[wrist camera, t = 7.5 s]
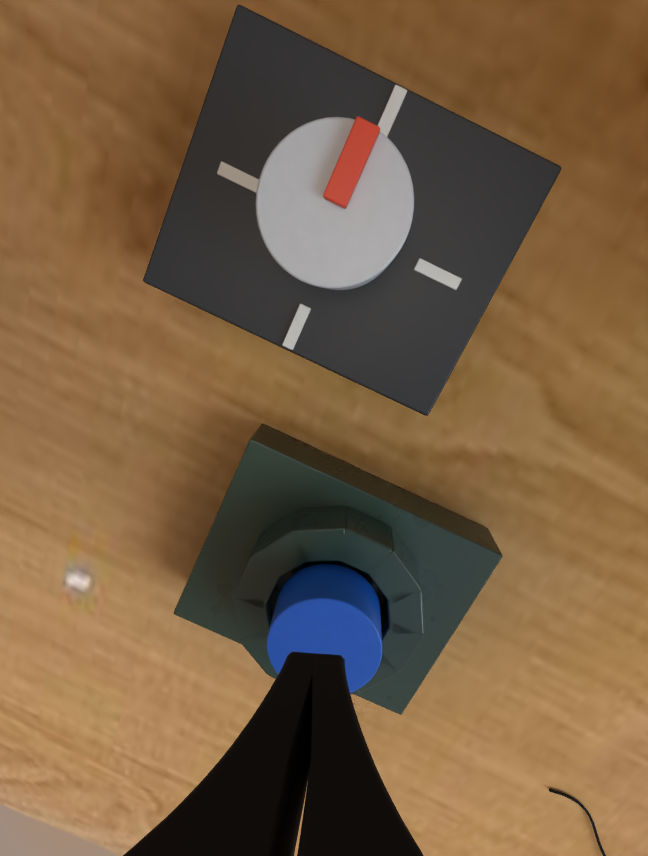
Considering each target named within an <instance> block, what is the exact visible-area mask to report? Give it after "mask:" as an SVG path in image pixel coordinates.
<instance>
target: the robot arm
mask: <svg viewBox="0 0 648 856" xmlns="http://www.w3.org/2000/svg"><path fill="white" fill-rule="evenodd" d="M307 782H308V785H307ZM306 788H307V792H306ZM305 793H306V799H305V807H304V814H303V821H302V828H301V835H300V842H299V848H298V855H297V856H423V854H422V852H421V851H420V849H419V847H418V846H417V844H416V842H415V841H414V839H413V837H412V836H411V834H410V832H409V831H408V829H407V827H406V826H405V824H404V822H403V820H402V819H401V817H400V815H399V813H398V811H397V809H396V807H395V805H394V803H393V802H392V800H391V798H390V796H389V794H388V792H387V790H386V788H385V786H384V783H383V781H382V779H381V777H380V775H379V773H378V771H377V768H376V766H375V764H374V761H373V759H372V757H371V754H370V752H369V749H368V747H367V744H366V742H365V739H364V736H363V733H362V731H361V728H360V725H359V722H358V719H357V716H356V713H355V710H354V706H353V703H352V699H351V696H350V691H349V687H348V683H347V678H346V671H345V659H344V658H343V657H342V656H341V655H333V654H319V653H304V652H291V653H290V654H289V655H288V656H287V658H286V660H285V663H284V665H283V667H282V669H281V671H280V673H279V674H278V676H277V678H276V680H275V682H274V683H273V685H272V687H271V689H270V690H269V692H268V694H267V695H266V697H265V698H264V700H263V701H262V703H261V705H260V706H259V708H258V709H257V711H256V712H255V714H254V715H253V717H252V718H251V720H250V721H249V723H248V724H247V725H246V727H245V728H244V729H243V731H242V732H241V734H240V735H239V736H238V738H237V739H236V740H235V742H234V743H233V744H232V746H231V747H230V748H229V750H228V751H227V752H226V753H225V755H224V756H223V757H222V758H221V759H220V761H219V762H218V763H217V764H216V765H215V767H214V768H213V769H212V770H211V771H210V772H209V774H208V775H207V776H206V777H205V778H204V779H203V780H202V781H201V782H200V784H199V785H198V786H197V787H196V788H195V789H194V790H193V791H192V792H191V793H190V794H189V795H188V796H187V797H186V798H185V799H184V800H183V801H182V803H180V804H179V805H178V806H177V807H176V808H175V809H174V810H173V811H172V812H171V813H170V814H169V815H168V816H167V817H166V818H165V819H164V820H163V821H162V822H161V823H159V824H158V825H157V826H156V827H155V828H154V829H153V830H152V831H151V832H149V833H148V834H147V835H146V836H145V837H144V838H143V839H142V840H141V841H139V842H138V843H137V844H136V845H135V846H134V847H133V848H132V849H130V850H129V851H128V852H127V853H126V854H124V855H123V856H294V852H295V846H296V841H297V836H298V830H299V825H300V820H301V814H302V809H303V804H304V798H305Z"/></svg>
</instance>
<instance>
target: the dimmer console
mask: <svg viewBox="0 0 648 856" xmlns="http://www.w3.org/2000/svg"><path fill="white" fill-rule="evenodd" d="M357 116H359V117H361V118H363V119H365V120H367V121H369V122H371V123H373V124H375V125H377V126H379V127H380V132H381V133H383V134H384V135H385V136H386V137H387V138H388V139H389V140H390V141H391V142H392V143H393V144H394V145H395V146H396V148H397V149H398V151H399V152H400V153H401V155H402V157H403V159H404V161H405V163H406V165H407V167H408V170H409V173H410V175H411V180H412V184H413V191H414V212H413V218H412V223H411V227H410V230H409V233H408V235H407V238H406V240H405V242H404V244H403V246H402V248H401V250H400V251H399V253H398V254H397V255H396V257H395V258H394V259H393V261H392V262H391V263H390V264H389V265H388V267H387V268H386V269H385V270H384V271H383V272H382V273H381V274H380V275H379V276H377V277H376V278H375V279H374V280H372V281H370V282H369V283H367V284H365V285H363V286H360V287H357V288H354V289H348V290H331V289H326V288H321V287H317V286H313V285H310V284H307V283H305V282H302V281H300V280H298V279H297V278H295V277H293V276H292V275H290V274H289V273H288V272H287V271H285V270H284V269H283V268H282V267H281V266H280V265H279V264H278V263H277V262H276V261H275V259H274V258H273V257H272V255H271V254H270V252H269V251H268V249H267V247H266V246H265V243H264V241H263V239H262V236H261V233H260V230H259V227H258V222H257V216H256V192H257V186H258V181H259V178H260V175H261V172H262V169H263V167H264V165H265V163H266V161H267V159H268V157H269V156H270V154H271V153H272V151H273V150H274V149H275V147H276V146H277V145H278V144H279V142H280V141H281V140H283V139H284V138H285V137H286V136H287V135H288V134H289V133H291V132H292V131H294V130H295V129H296V128H298V127H300V126H302V125H304V124H306V123H308V122H311V121H314V120H317V119H322V118H327V117H344V118H351V119H356V117H357ZM560 171H561V167H560V166H559V165H557V164H555V163H553V162H551V161H549V160H547V159H545V158H543V157H541V156H539V155H537V154H535V153H533V152H531V151H529V150H527V149H525V148H523V147H521V146H519V145H517V144H515V143H513V142H511V141H509V140H507V139H505V138H503V137H501V136H499V135H497V134H495V133H493V132H491V131H490V130H488V129H486V128H484V127H482V126H480V125H478V124H476V123H474V122H472V121H470V120H468V119H466V118H464V117H462V116H460V115H458V114H456V113H454V112H452V111H450V110H448V109H446V108H444V107H442V106H440V105H438V104H436V103H434V102H432V101H430V100H428V99H426V98H424V97H422V96H420V95H418V94H416V93H414V92H412V91H410V90H408V89H406V88H404V87H402V86H400V85H398V84H396V83H394V82H392V81H390V80H388V79H386V78H384V77H382V76H380V75H378V74H376V73H374V72H372V71H370V70H368V69H366V68H364V67H362V66H361V65H359V64H357V63H355V62H353V61H351V60H349V59H347V58H345V57H343V56H341V55H339V54H337V53H335V52H333V51H331V50H329V49H327V48H325V47H323V46H321V45H319V44H317V43H315V42H313V41H311V40H309V39H307V38H305V37H303V36H301V35H299V34H297V33H295V32H293V31H291V30H289V29H287V28H285V27H283V26H281V25H279V24H277V23H275V22H273V21H271V20H269V19H267V18H265V17H263V16H261V15H259V14H257V13H255V12H253V11H251V10H249V9H247V8H245V7H243V6H241V5H237V7H236V10H235V13H234V16H233V19H232V22H231V25H230V28H229V31H228V34H227V37H226V40H225V42H224V45H223V48H222V51H221V54H220V57H219V60H218V63H217V66H216V69H215V72H214V75H213V78H212V80H211V83H210V86H209V89H208V92H207V95H206V98H205V101H204V104H203V107H202V110H201V113H200V115H199V118H198V121H197V124H196V127H195V130H194V133H193V136H192V139H191V142H190V145H189V148H188V151H187V153H186V156H185V159H184V162H183V165H182V168H181V171H180V174H179V177H178V180H177V183H176V186H175V189H174V191H173V194H172V197H171V200H170V203H169V206H168V209H167V212H166V215H165V218H164V221H163V224H162V226H161V229H160V232H159V235H158V238H157V241H156V244H155V247H154V250H153V253H152V256H151V259H150V262H149V264H148V267H147V270H146V273H145V276H144V279H143V281H144V282H145V283H147V284H149V285H151V286H153V287H155V288H157V289H160V290H162V291H164V292H166V293H168V294H170V295H172V296H174V297H176V298H179V299H181V300H183V301H185V302H187V303H189V304H191V305H193V306H195V307H198V308H200V309H202V310H204V311H206V312H208V313H210V314H212V315H214V316H217V317H219V318H221V319H223V320H225V321H227V322H229V323H231V324H233V325H236V326H238V327H240V328H242V329H244V330H246V331H248V332H250V333H252V334H255V335H257V336H259V337H261V338H263V339H265V340H267V341H269V342H271V343H274V344H276V345H278V346H280V347H282V348H284V349H286V350H288V351H290V352H293V353H295V354H297V355H299V356H301V357H303V358H305V359H307V360H309V361H312V362H314V363H316V364H318V365H320V366H322V367H324V368H326V369H328V370H331V371H333V372H335V373H337V374H339V375H341V376H343V377H345V378H347V379H349V380H352V381H354V382H356V383H358V384H360V385H362V386H364V387H366V388H368V389H371V390H373V391H375V392H377V393H379V394H381V395H383V396H385V397H387V398H390V399H392V400H394V401H396V402H398V403H400V404H402V405H404V406H406V407H409V408H411V409H413V410H415V411H417V412H419V413H421V414H423V415H426V416H427V415H429V413H430V411H431V409H432V407H433V406H434V404H435V402H436V400H437V398H438V396H439V395H440V393H441V391H442V389H443V387H444V385H445V383H446V382H447V380H448V378H449V376H450V374H451V372H452V370H453V369H454V367H455V365H456V363H457V361H458V359H459V358H460V356H461V354H462V352H463V350H464V348H465V346H466V345H467V343H468V341H469V339H470V337H471V335H472V334H473V332H474V330H475V328H476V326H477V324H478V322H479V321H480V319H481V317H482V315H483V313H484V311H485V310H486V308H487V306H488V304H489V302H490V300H491V298H492V297H493V295H494V293H495V291H496V289H497V287H498V285H499V284H500V282H501V280H502V278H503V276H504V274H505V273H506V271H507V269H508V267H509V265H510V263H511V261H512V260H513V258H514V256H515V254H516V252H517V250H518V249H519V247H520V245H521V243H522V241H523V239H524V237H525V236H526V234H527V232H528V230H529V228H530V226H531V224H532V223H533V221H534V219H535V217H536V215H537V213H538V212H539V210H540V208H541V206H542V204H543V202H544V200H545V199H546V197H547V195H548V193H549V191H550V189H551V188H552V186H553V184H554V182H555V180H556V178H557V176H558V175H559V173H560Z"/></svg>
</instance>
